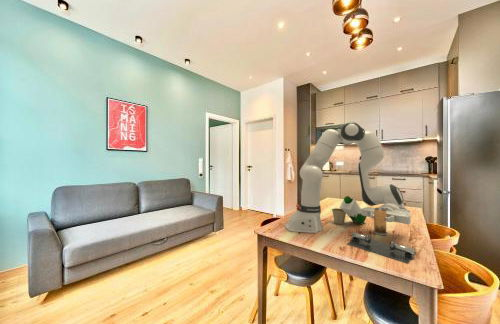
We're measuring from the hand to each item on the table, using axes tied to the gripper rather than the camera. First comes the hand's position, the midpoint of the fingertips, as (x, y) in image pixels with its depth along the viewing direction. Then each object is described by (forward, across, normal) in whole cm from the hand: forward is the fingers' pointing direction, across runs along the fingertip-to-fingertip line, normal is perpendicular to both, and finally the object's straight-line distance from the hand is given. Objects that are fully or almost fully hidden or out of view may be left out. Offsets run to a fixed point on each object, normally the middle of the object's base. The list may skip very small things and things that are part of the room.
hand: (379, 218), depth 92 cm
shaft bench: (-1, 0, +15) cm, 15 cm away
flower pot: (-24, -31, +15) cm, 41 cm away
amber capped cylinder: (-1, 0, +8) cm, 8 cm away
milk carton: (-35, -22, +12) cm, 43 cm away
